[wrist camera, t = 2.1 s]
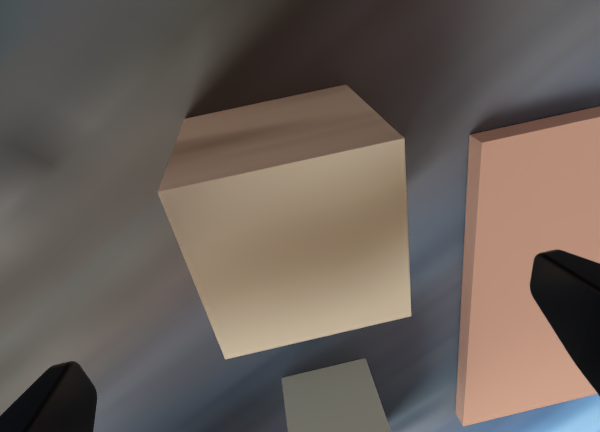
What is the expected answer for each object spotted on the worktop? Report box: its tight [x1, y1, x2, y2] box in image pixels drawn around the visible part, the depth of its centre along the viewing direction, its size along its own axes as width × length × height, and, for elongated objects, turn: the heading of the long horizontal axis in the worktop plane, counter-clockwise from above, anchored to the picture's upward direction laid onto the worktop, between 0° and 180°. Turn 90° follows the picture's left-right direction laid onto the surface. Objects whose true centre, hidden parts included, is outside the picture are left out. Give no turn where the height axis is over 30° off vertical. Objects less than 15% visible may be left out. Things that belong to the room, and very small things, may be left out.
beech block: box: [158, 85, 411, 359], centre depth 11 cm, size 5×5×5 cm
